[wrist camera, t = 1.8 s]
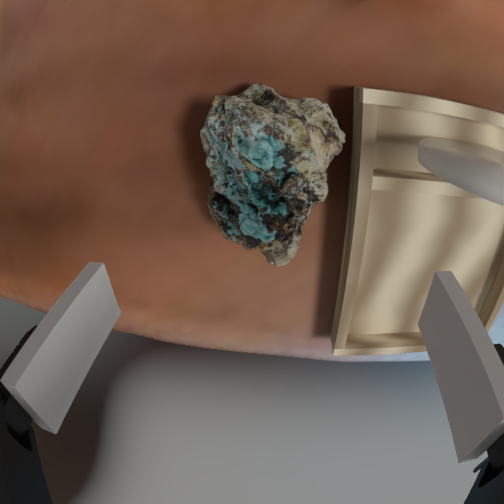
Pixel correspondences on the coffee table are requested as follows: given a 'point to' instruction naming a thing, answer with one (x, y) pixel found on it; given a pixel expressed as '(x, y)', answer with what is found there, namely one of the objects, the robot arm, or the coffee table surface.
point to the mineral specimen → (268, 166)
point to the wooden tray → (412, 223)
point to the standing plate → (465, 166)
